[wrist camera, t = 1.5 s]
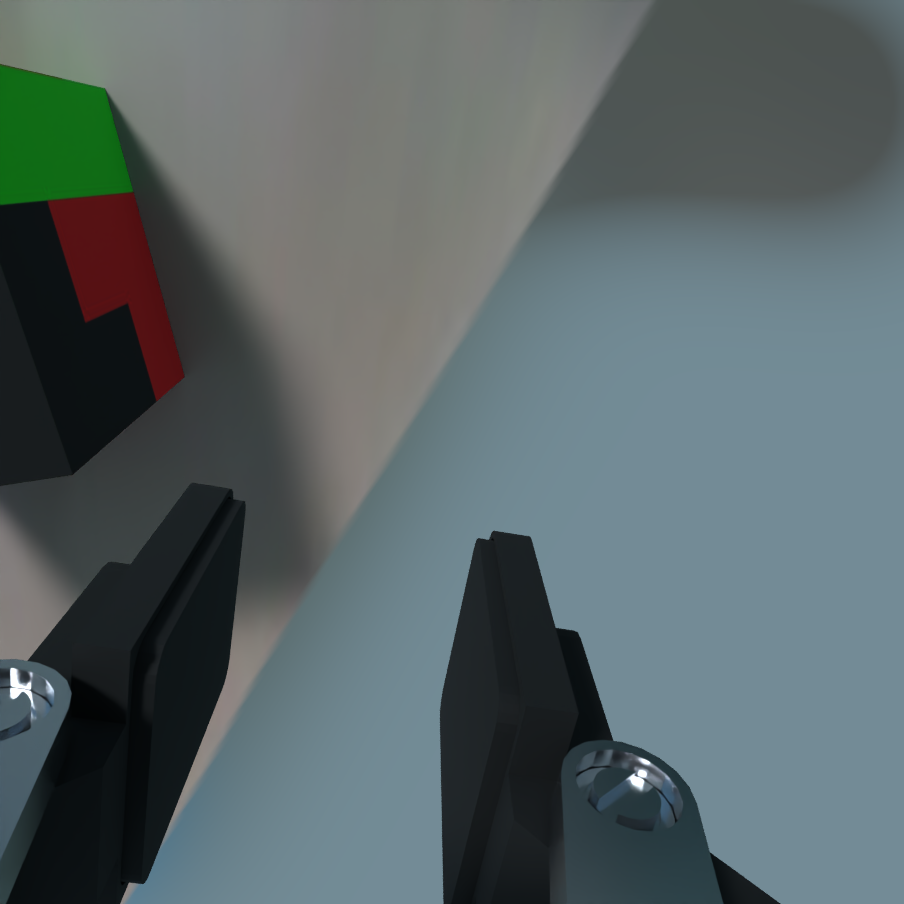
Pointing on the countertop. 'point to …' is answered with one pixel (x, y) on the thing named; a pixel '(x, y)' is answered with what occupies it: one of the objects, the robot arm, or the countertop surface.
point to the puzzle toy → (71, 282)
